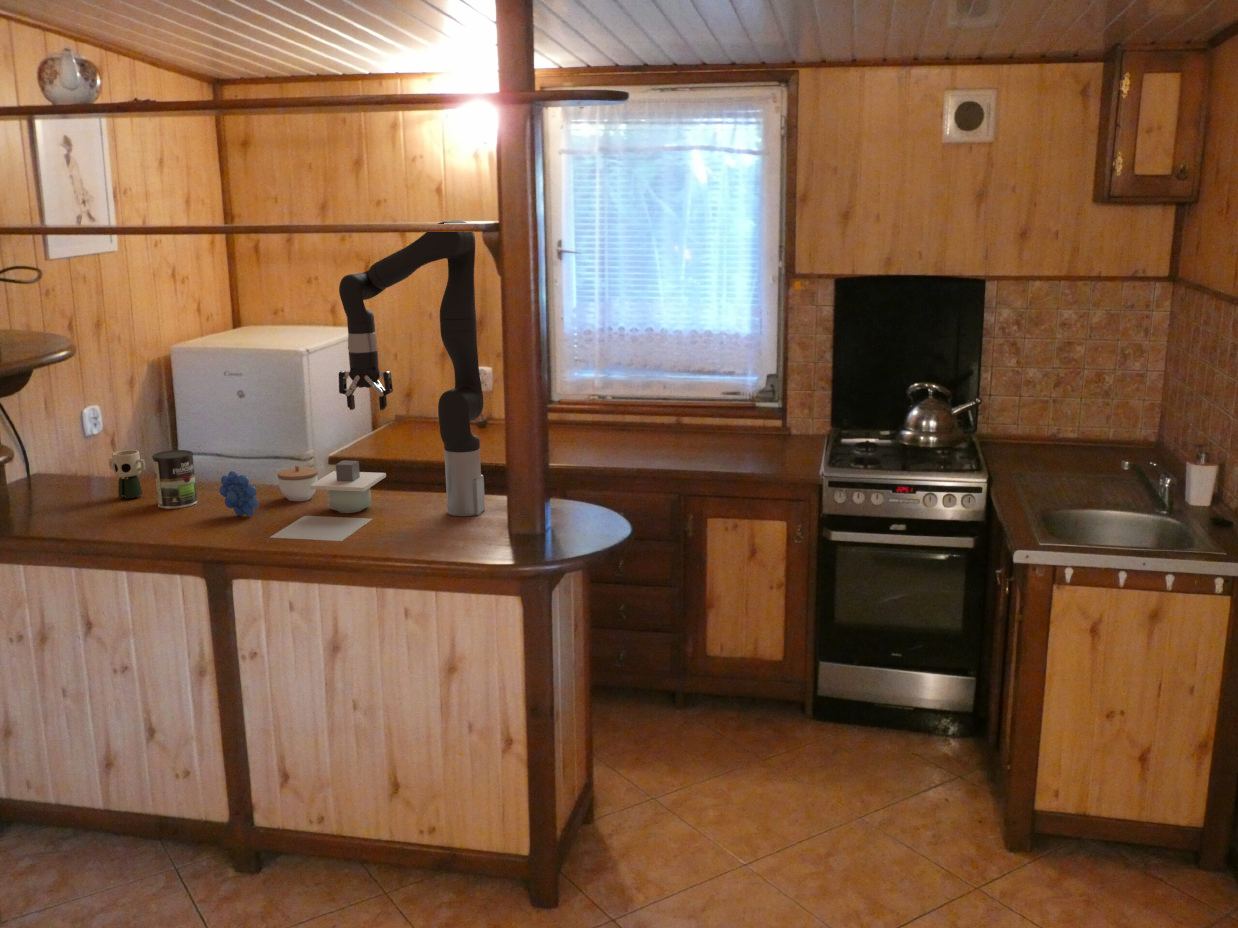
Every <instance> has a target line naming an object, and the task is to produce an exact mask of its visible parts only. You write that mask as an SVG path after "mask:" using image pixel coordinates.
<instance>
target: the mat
mask: <svg viewBox="0 0 1238 928" xmlns="http://www.w3.org/2000/svg"><path fill="white" fill-rule="evenodd" d="M372 520H373V518H363V517H344V516H343V517H341V516H340V517H339V516H321V515H318V516H317V515H304V516H302V517H300V518H299V519H297V520H295V521H294V522H292V523H291V524H289V525H287V526H285V527H284V528H282V529H280V530H279V531H277V532H276V533H274V534H273V535H271V536H270V537H269V538H271V539H273V538H274V539H290V540H291V539H293V540H314V541H329V542H331V541H332V542H343V541H344V540H345V539H348V538H349V536H351V535H353V534H354V533H355V532H357V531H359V530H360V529H361V528H362V527H364V526H365V525H366V524H368V523H370V521H372Z"/></svg>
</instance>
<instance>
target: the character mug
mask: <svg viewBox="0 0 1238 928" xmlns="http://www.w3.org/2000/svg"><path fill="white" fill-rule="evenodd" d="M140 457H141V456H140V451H139V450H138V449H124V450H117V451H114V452H112V454H111V457H109V458H108V467H109V469H110V470H112V471H113V474H114V475H115V476H116V477H117V478H118V489H117V490H118V498H119V499H123V496H124V498H125V499H126V500H127V499H136V498H138V497H140V496H142V495H143V490H142V485H141V482H140V478H139V476H138V475H140V474H142V471H143V472H144V471H145V470H146V463H145V459H142V458H140ZM135 497H136V498H135Z"/></svg>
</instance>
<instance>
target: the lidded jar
mask: <svg viewBox="0 0 1238 928" xmlns="http://www.w3.org/2000/svg"><path fill="white" fill-rule="evenodd" d="M318 474H319V473H318V469H317V468H314V467H307V466H303V467H302V466H299V465H295V466H294V467H288V468H286V469H281V470H280V471H278V472H277V474H276V475H277V479H278V486H279V489H280V491H281V493H282V495H283V496H284V497H285V498H286V499H288V502H289V501H290V502H304V501H305V502H306V501H309V500H311V499H312V497H313V495H314V494H315V493H316V491H317V489H310V485H311V484H313V483H315V482H316V481H318V480H319V479H318Z"/></svg>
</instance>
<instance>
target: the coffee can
mask: <svg viewBox="0 0 1238 928" xmlns="http://www.w3.org/2000/svg"><path fill="white" fill-rule="evenodd" d="M151 457H152V460H153V461H152V462H153V469H154V477H155V485H156V486H155V488H156V495H157V497H156V498H157V506H158V508H161V509H166V510H168V509H169V510H174V509H183V508H189V507H191V506H195V505H197V504H198V502H199V501H198V495H197V488H196V487H197V485H196V475H195V466H194V452H193V451H191V450H186V449H177V450H166V451H161V452H156V453H154V454H153V455H152V456H151ZM194 504H195V505H194Z"/></svg>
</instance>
